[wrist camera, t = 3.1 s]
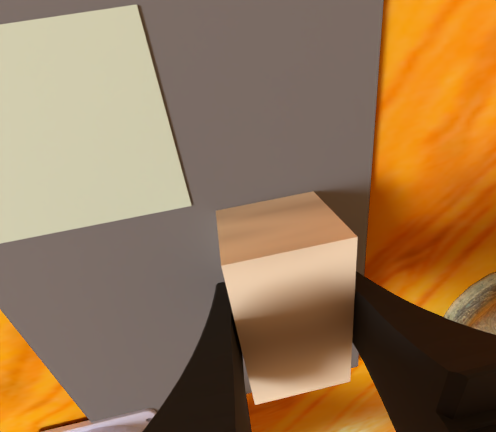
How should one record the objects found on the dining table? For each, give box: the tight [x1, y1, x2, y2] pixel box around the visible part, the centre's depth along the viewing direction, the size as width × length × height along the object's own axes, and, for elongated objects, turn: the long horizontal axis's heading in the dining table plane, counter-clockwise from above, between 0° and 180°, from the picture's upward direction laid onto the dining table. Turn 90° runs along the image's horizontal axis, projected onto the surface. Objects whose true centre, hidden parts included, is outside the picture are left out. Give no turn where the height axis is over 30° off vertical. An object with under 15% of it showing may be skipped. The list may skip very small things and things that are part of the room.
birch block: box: [216, 191, 358, 405], centre depth 12 cm, size 8×4×4 cm, turn 8°
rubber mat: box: [0, 0, 384, 422], centre depth 13 cm, size 26×18×1 cm
